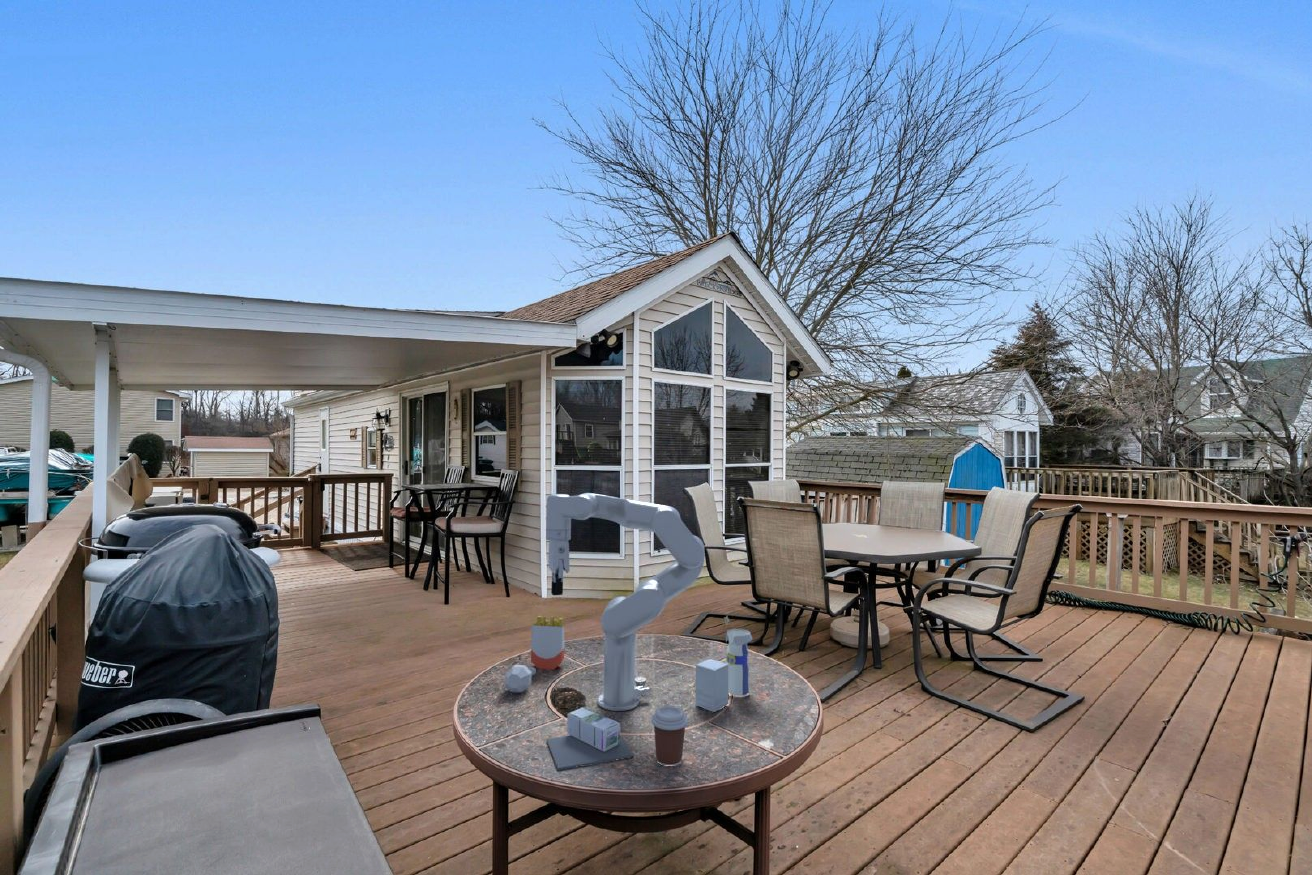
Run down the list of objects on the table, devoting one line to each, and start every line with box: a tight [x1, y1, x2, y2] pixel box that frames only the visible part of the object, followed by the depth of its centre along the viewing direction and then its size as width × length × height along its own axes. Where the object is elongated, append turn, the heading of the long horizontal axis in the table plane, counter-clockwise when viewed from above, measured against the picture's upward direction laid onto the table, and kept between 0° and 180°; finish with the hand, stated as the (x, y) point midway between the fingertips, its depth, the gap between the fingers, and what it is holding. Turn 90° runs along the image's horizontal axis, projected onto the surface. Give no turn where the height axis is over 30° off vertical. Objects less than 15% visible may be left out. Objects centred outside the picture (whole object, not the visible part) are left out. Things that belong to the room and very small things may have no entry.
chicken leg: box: [503, 664, 537, 693], centre depth 193 cm, size 8×18×8 cm, turn 175°
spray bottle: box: [723, 615, 753, 695], centre depth 191 cm, size 8×9×25 cm
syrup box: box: [566, 706, 621, 752], centre depth 157 cm, size 6×6×14 cm
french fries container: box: [530, 615, 565, 670], centre depth 210 cm, size 5×11×18 cm, turn 85°
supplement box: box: [695, 658, 729, 711], centre depth 181 cm, size 7×7×13 cm
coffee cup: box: [651, 705, 689, 765], centre depth 149 cm, size 9×9×12 cm
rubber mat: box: [546, 734, 634, 771], centre depth 153 cm, size 19×15×1 cm
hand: (557, 594), depth 183 cm, fingers closed
